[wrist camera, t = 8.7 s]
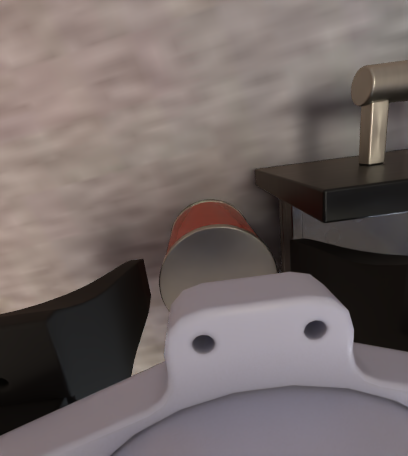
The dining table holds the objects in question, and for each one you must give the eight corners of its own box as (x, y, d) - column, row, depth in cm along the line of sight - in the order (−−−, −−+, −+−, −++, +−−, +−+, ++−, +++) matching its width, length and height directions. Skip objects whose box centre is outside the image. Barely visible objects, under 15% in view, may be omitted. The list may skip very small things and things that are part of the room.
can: (246, 194, 16) (275, 218, 10) (251, 268, 18) (280, 326, 12) (164, 205, 16) (148, 235, 10) (177, 278, 18) (169, 340, 12)
